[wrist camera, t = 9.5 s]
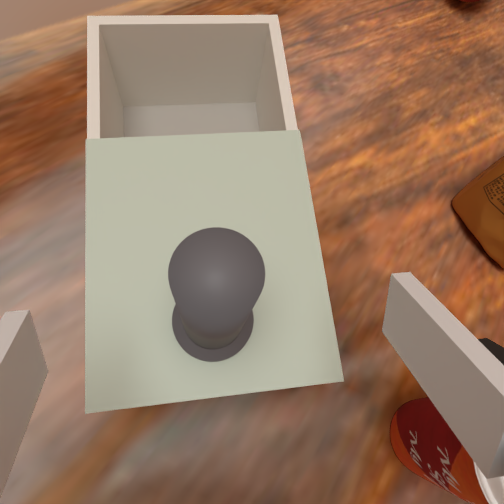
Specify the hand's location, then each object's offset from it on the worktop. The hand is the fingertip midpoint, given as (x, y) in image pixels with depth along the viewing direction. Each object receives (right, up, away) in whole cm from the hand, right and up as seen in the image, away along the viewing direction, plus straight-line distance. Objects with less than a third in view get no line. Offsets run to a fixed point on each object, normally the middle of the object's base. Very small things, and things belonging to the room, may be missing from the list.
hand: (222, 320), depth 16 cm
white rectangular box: (-4, +9, +23) cm, 25 cm away
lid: (-2, +2, +10) cm, 10 cm away
